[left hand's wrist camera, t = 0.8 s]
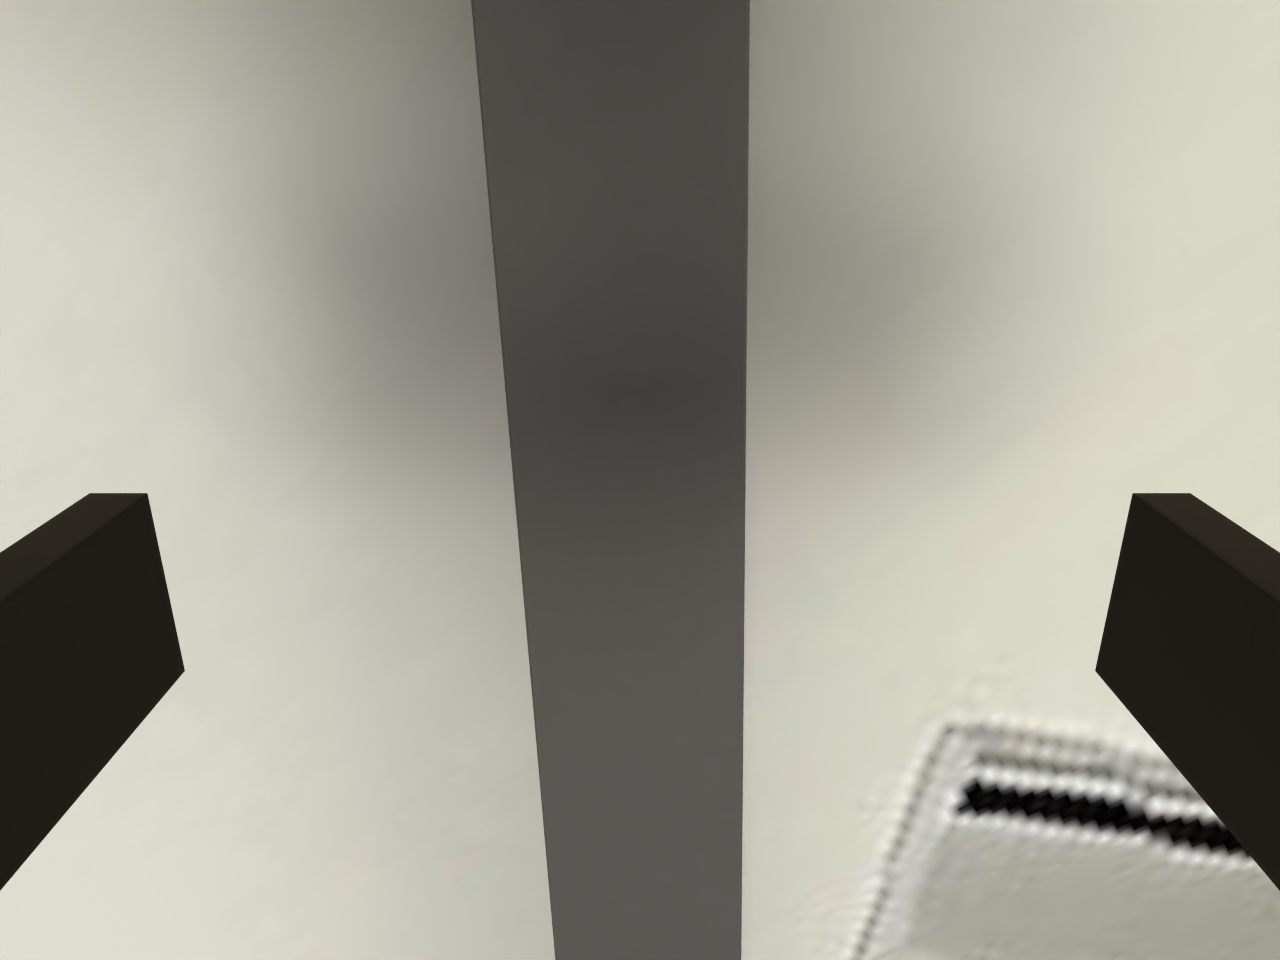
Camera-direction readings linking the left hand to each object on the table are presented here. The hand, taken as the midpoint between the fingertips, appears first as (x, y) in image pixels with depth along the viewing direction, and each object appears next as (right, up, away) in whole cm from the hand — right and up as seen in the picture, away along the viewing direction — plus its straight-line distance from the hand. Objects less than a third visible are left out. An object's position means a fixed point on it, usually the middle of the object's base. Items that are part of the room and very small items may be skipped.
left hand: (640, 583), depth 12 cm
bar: (+1, -22, +24) cm, 33 cm away
